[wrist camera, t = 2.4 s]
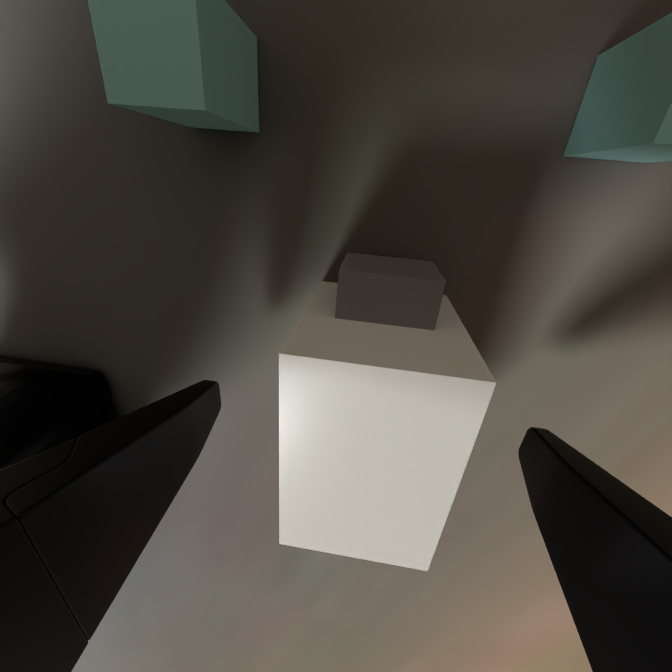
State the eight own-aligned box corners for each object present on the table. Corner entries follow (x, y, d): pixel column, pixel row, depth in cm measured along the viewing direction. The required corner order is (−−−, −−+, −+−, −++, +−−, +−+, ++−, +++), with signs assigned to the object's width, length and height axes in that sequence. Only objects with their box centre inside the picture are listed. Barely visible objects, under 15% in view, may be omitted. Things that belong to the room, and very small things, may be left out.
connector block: (314, 420, 13) (279, 544, 9) (325, 243, 10) (278, 293, 5) (411, 435, 13) (427, 571, 8) (455, 256, 10) (519, 321, 5)
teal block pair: (190, 127, 9) (107, 103, 6) (180, 33, 8) (78, -42, 5) (646, 162, 8) (782, 152, 5) (692, 60, 7) (883, -14, 4)
